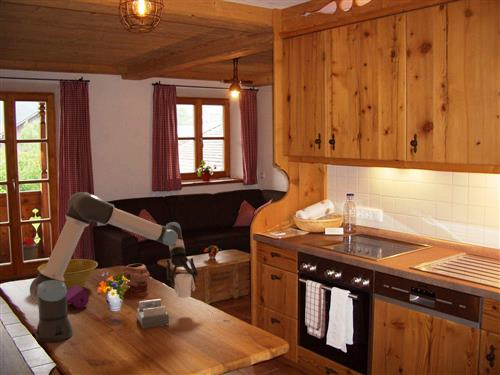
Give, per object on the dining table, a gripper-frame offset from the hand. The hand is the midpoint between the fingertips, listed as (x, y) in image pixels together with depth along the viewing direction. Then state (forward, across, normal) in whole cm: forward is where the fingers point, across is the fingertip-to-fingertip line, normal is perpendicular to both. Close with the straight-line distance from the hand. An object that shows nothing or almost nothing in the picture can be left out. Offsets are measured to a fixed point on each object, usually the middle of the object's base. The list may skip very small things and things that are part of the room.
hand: (185, 290), depth 257 cm
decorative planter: (-28, +16, -46) cm, 56 cm away
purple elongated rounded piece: (-14, +53, -33) cm, 64 cm away
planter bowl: (-38, +51, -57) cm, 85 cm away
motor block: (+11, +16, -6) cm, 21 cm away
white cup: (0, 0, -5) cm, 5 cm away
